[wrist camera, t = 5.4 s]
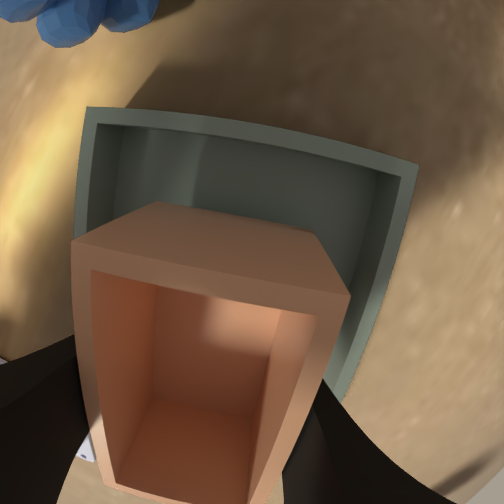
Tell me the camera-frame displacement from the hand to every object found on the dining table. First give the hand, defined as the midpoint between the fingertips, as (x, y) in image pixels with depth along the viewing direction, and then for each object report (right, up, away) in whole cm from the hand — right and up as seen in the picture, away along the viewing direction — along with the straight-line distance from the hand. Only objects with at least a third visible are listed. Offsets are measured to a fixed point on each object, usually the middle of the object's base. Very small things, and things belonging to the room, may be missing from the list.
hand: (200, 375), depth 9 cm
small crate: (0, +1, +3) cm, 3 cm away
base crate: (0, +2, +6) cm, 6 cm away
